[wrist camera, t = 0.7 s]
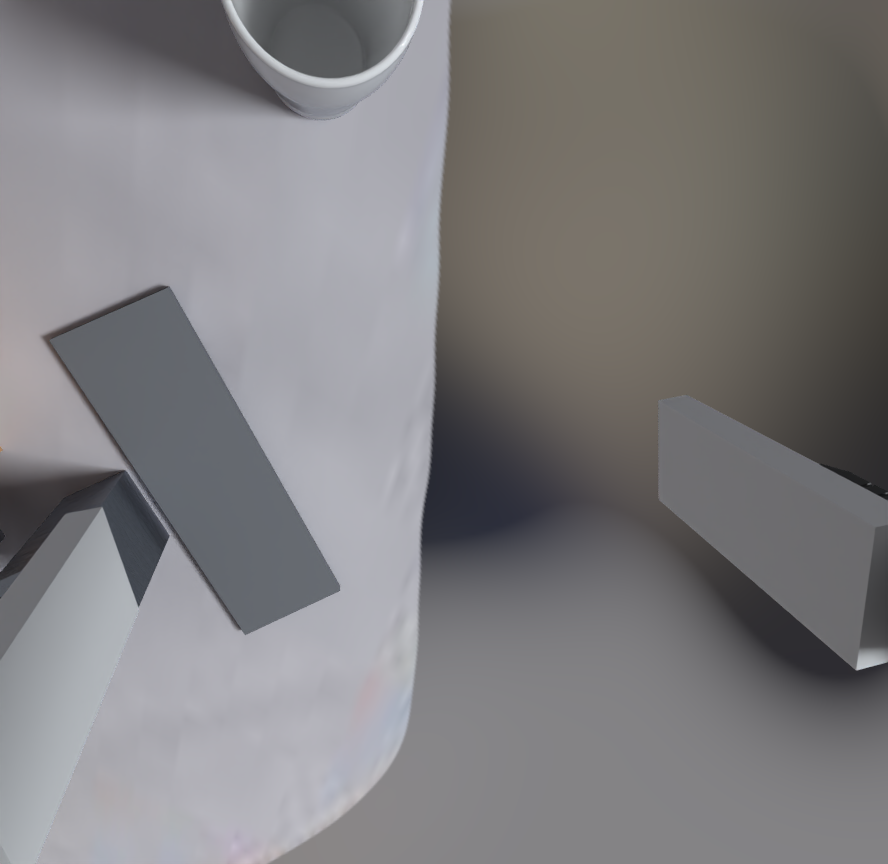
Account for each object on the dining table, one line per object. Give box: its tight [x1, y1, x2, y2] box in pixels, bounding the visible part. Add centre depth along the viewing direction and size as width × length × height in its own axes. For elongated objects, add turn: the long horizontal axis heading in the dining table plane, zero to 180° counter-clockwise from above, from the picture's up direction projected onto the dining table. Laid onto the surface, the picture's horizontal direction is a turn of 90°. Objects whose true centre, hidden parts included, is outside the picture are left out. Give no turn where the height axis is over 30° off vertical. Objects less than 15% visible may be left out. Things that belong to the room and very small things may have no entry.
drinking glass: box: [221, 0, 424, 120], centre depth 27 cm, size 7×7×15 cm
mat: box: [49, 287, 340, 635], centre depth 40 cm, size 22×7×1 cm, turn 22°
